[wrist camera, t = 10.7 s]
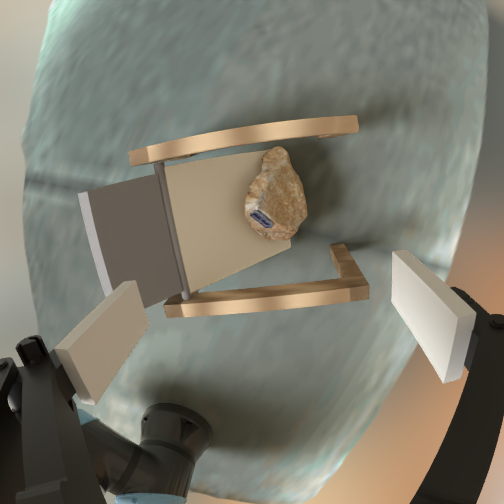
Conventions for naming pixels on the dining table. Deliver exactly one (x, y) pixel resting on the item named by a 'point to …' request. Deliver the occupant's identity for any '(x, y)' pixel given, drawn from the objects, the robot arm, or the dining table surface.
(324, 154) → the dining table surface
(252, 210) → the stone
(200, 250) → the trapdoor
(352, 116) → the frame
